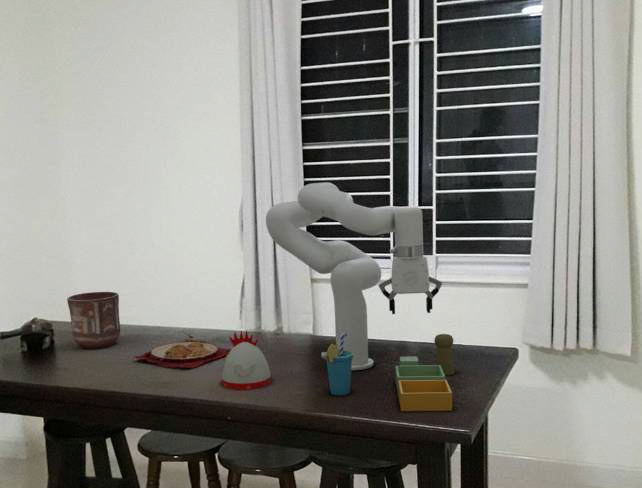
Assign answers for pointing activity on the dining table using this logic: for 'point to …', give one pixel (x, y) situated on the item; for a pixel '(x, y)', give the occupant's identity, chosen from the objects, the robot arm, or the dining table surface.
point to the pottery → (95, 319)
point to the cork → (444, 353)
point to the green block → (409, 361)
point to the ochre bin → (424, 395)
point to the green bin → (419, 373)
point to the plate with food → (184, 354)
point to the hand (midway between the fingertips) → (410, 312)
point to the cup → (339, 368)
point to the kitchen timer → (245, 365)
